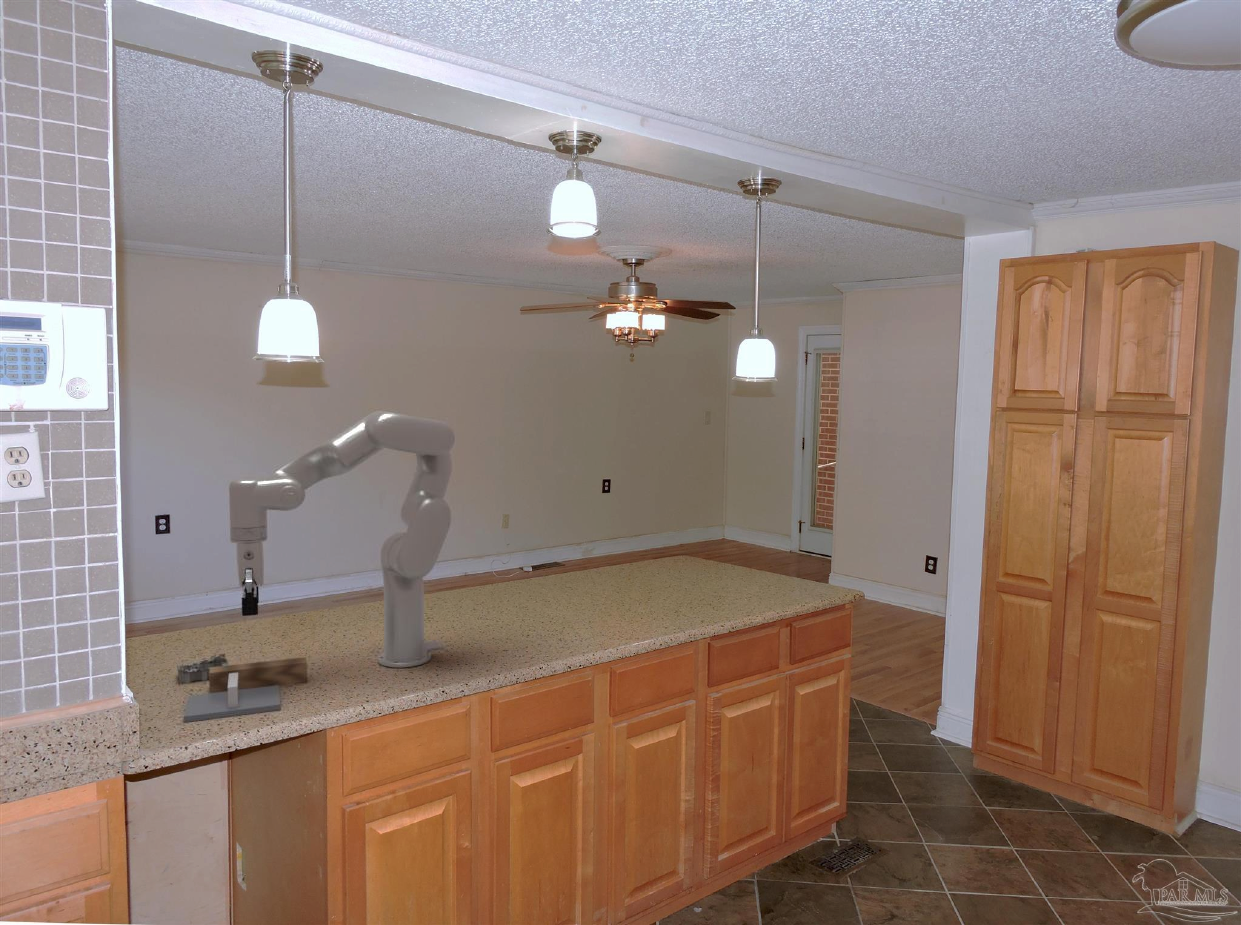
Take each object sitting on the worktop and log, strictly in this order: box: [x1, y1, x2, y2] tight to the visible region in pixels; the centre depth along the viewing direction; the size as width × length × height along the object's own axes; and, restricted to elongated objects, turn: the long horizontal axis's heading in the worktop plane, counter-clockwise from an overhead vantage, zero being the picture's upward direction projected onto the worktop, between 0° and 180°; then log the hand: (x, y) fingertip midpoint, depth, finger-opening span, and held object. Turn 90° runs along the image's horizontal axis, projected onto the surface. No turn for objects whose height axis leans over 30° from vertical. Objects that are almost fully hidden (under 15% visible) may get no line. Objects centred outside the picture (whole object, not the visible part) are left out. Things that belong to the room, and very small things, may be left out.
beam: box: [208, 656, 308, 693], centre depth 190 cm, size 20×4×5 cm, turn 113°
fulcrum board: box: [183, 673, 281, 723], centre depth 178 cm, size 18×12×6 cm, turn 113°
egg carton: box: [176, 652, 229, 684], centre depth 196 cm, size 11×8×4 cm
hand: (250, 609), depth 189 cm, fingers open, 9 cm apart
